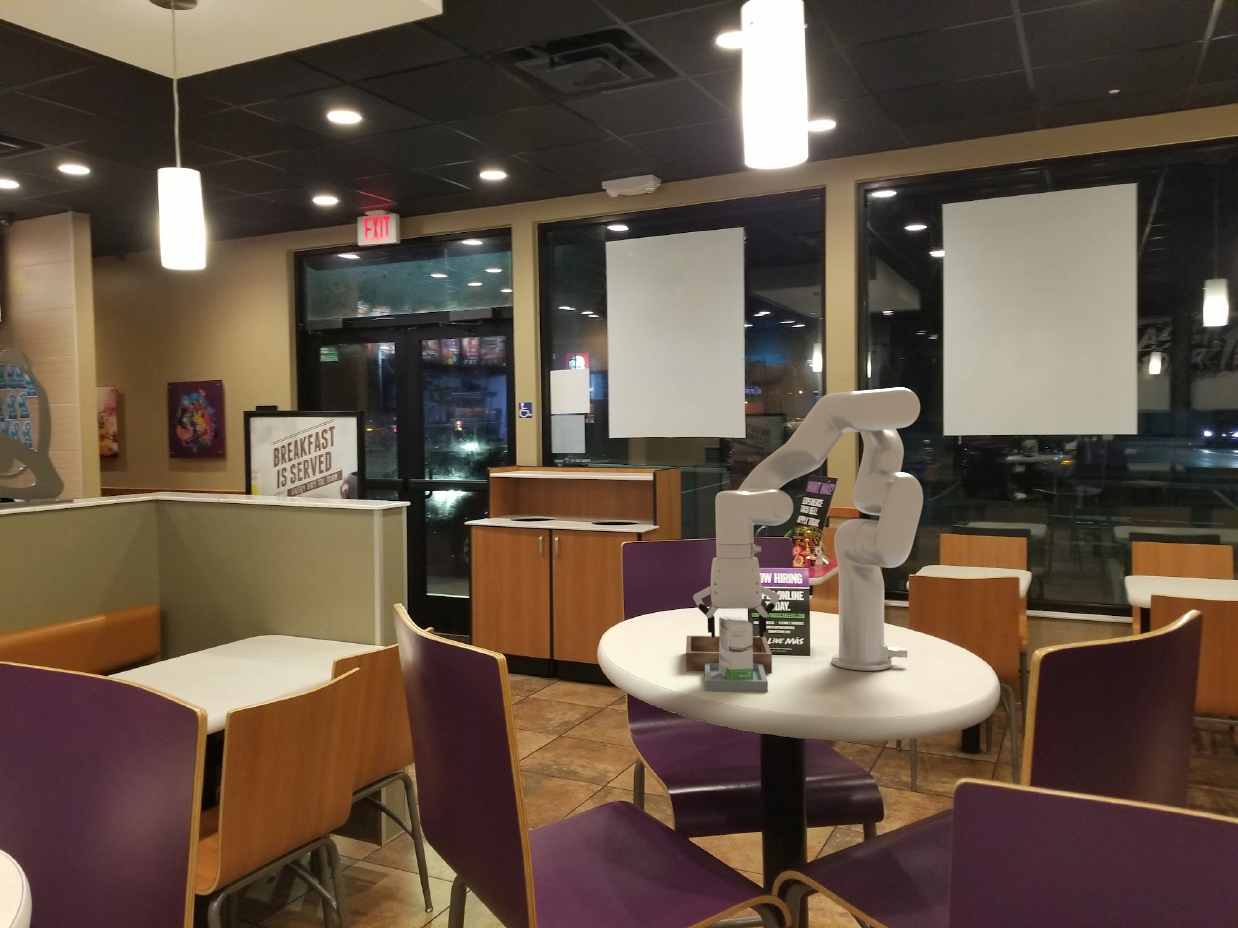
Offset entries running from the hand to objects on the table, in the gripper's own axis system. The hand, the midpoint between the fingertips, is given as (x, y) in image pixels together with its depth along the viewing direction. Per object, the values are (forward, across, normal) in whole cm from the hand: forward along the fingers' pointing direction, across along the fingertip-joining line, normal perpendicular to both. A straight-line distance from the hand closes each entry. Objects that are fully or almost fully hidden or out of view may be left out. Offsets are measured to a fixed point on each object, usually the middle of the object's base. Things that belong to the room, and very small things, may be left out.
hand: (737, 635), depth 177 cm
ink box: (+9, 0, 0) cm, 9 cm away
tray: (+9, +1, 0) cm, 9 cm away
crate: (+9, +2, -16) cm, 18 cm away
